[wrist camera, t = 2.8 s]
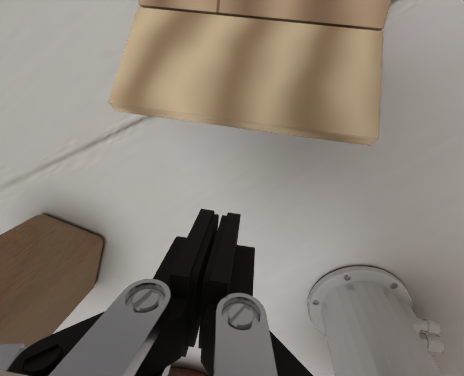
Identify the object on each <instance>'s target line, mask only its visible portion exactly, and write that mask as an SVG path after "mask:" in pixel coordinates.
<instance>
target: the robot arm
mask: <svg viewBox="0 0 464 376" xmlns="http://www.w3.org/2000/svg"><path fill="white" fill-rule="evenodd" d="M218 219H219V215H217V214H214V211H212V210H205V209H201V210H200V212H199V214H198V216H197V218H196V221H195V223H194V225H193V227H192V229H191V231H190V233H189V235H188V237H187V238H185V237H176V238H175V240H174V242H173V243H172V245H171V247H170V249H169V251H168V252H167V254H166V256H165V258H164V260H163V261H162V263H161V265H160V267H159V269H158V270H157V272H156V274H155V276H154V278H153V279H144V280H140V281H137V282H135V283H133V284H131V285H129V286H128V287H127V288H126V289H125V290H124V291H123V292H122V293H121V294H120V295H119V296H118V298H117V299H116V300H115V301H114V302H113V303H112V304H111V305H110V307H109V308H108V309H107V310H106V311H105V312H103V313H100V314H98V315H96V316H93V317H91V318H89V319H87V320H84V321H82V322H80V323H77V324H75V325H73V326H71V327H68V328H66V329H64V330H61V331H59V332H57V333H55V334H52V335H50V336H48V337H45V338H43V339H41V340H39V341H37V342H35V343H34V344H32V345H30V346H29V347H25V346H24V344H23V343H19V344H1V345H0V376H167V375H168V373H169V370H170V365H171V364H172V363H174V362H175V361H177V360H178V359H180V358H181V356H183V357H186V354H187V350H188V346H190V347H194V345H195V342H196V338H197V334H198V330H199V326H200V332H199V348H201V363H202V364H203V366H204V368H205V369H206V371H207V372H208V374H209V375H210V376H313V375H312V374H311V373H310V372H309V371H308V370H307V369H306V368H305V367H304V366H303V365H302V364H301V363H300V362H299V361H298V360H297V359H296V357H295V356H294V355H293V354H292V353H291V352H290V351H289V350H288V349H287V348H286V347H285V346H284V345H283V344H282V343H281V342H280V341H279V340H278V339H277V338H276V337H275V336H274V335H273V333H272V332H271V331H270V330H269V327H268V321H267V316H266V312H265V309H264V307H263V305H262V304H261V303H260V301H258V300H257V299H256V298H254V297H253V277H254V256H255V248H253V247H246V246H240V245H237V239H238V231H239V223H240V214H234V213H228V214H227V216H224V215H222V218H221V221H220V225H219V228H218ZM217 230H218V231H217ZM308 310H309V315H310V319H311V321H312V323H313V324H314V326H315V327H316V328H317V329H318V331H319V332H321V333H322V334H323V335H324V336H326V337H327V341H328V346H329V350H330V354H331V359H332V363H333V367H334V371H335V376H444V375H443V373H442V372H441V370H440V368H439V367H438V365H437V364H436V362H435V360H434V359H433V357H432V355H431V354H430V352H435V353H442V352H443V351H444V343H443V341H442V339H441V338H440V337H439V336H437V335H432V334H426V333H419V332H420V330H423V331H425V332H430V333H435V334H439V333H440V330H441V329H440V325H439V323H438V322H437V321H431V320H426V319H419V318H418V317H417V316H415V314H414V313H413V311H412V300H411V296H410V294H409V293H408V291H407V289H406V288H405V287H404V285H403V284H402V283H401V281H400V280H398V279H397V278H396V277H395V276H394V275H392V274H390V273H388V272H386V271H384V270H381V269H378V268H373V267H368V266H353V267H346V268H342V269H339V270H336V271H334V272H332V273H329V274H327V275H326V276H325V277H323V278H322V279H320V280H319V281H318V282H317V283H316V284H315V286H314V287H313V289H312V290H311V292H310V295H309V298H308ZM429 351H430V352H429Z"/></svg>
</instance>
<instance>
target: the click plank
mask: <svg viewBox="0 0 464 376" xmlns="http://www.w3.org/2000/svg"><path fill="white" fill-rule="evenodd" d="M382 45H383V31H374V30H364V29H354V28H344V27H333V26H323V25H313V24H303V23H293V22H283V21H273V20H262V19H252V18H242V17H232V16H222V15H212V14H201V13H191V12H181V11H171V10H161V9H151V8H141V7H138V8H137V12H136V15H135V18H134V21H133V24H132V27H131V31H130V34H129V37H128V40H127V43H126V46H125V50H124V53H123V56H122V59H121V62H120V65H119V69H118V72H117V75H116V78H115V81H114V84H113V88H112V91H111V94H110V97H109V100H108V103H109V104H110V105H111V106H112V108H113V109H114V110H115V111H118V112H125V113H132V114H140V115H147V116H155V117H162V118H169V119H177V120H184V121H192V122H199V123H206V124H214V125H221V126H229V127H236V128H243V129H251V130H258V131H266V132H273V133H280V134H288V135H295V136H303V137H310V138H317V139H325V140H332V141H339V142H347V143H354V144H362V145H369V146H370V145H371V144H372V143H374V142H375V141H376V140H377V139H378V138H379V116H380V92H381V69H382Z"/></svg>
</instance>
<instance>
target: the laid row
mask: <svg viewBox="0 0 464 376" xmlns="http://www.w3.org/2000/svg"><path fill="white" fill-rule="evenodd" d="M390 3H391V0H139V5H140V6H141V7H143V8H151V9H161V10H171V11H181V12H191V13H201V14H212V15H222V16H232V17H242V18H252V19H262V20H273V21H283V22H293V23H303V24H313V25H323V26H333V27H344V28H354V29H364V30H374V31H379V30H381V29H383V27H384V24H385V20H386V17H387V13H388V10H389V7H390Z"/></svg>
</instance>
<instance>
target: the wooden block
mask: <svg viewBox="0 0 464 376" xmlns="http://www.w3.org/2000/svg"><path fill="white" fill-rule="evenodd" d="M102 247H103V239H102V238H101V237H100V236H97V235H95V234H92V233H90V232H87V231H85V230H82V229H80V228H77V227H75V226H72V225H70V224H67V223H65V222H62V221H60V220H57V219H55V218H52V217H50V216H47V215H37V216H35V217H33V218H31V219H29V220H27V221H25V222H24V223H22V224H20V225H18V226H16V227H14V228H13V229H11V230H9V231H7V232H5V233H3V234H1V235H0V345H1V344H19V343H23V344H24V346H25V347H29V346H30V345H32V344H34V343H35V342H37V341H39V340H41V339H43V338H45V337H48V336H50V335H52V334H53V333H54V331H55V330H56V329H57V328H58V327H59V326H60V325H61V324H62V322H63V321H64V320H65V319H66V318H67V317H68V316H69V315H70V313H71V312H72V311H73V310H74V309H75V308H76V307H77V306H78V304H79V303H80V302H81V301H82V300H83V299H84V298H85V297H86V295H87V294H88V293H89V292H90V291H91V290H92V289H93V287H94V285H95V281H96V276H97V271H98V266H99V262H100V257H101V252H102Z"/></svg>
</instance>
